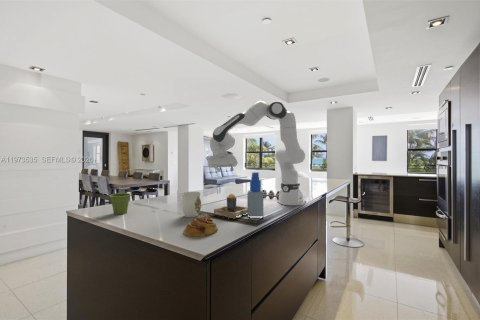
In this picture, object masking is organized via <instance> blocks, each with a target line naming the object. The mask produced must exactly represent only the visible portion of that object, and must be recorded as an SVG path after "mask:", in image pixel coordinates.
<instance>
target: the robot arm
mask: <svg viewBox="0 0 480 320" xmlns="http://www.w3.org/2000/svg"><path fill="white" fill-rule="evenodd" d="M264 117H267V118H268V119H271V120H278V123H279V131H280V132H279V133H280V136H279V137H280V141H281V142H283V144H284V147H283V148H279V149H278V150H276V152H275V154H274V155H275V159H276V161H277V163H278V164H279V165H278V166H279V168H280V174H281V183H280V190H279V191H278V195H279V197H278V200H277V203H278V204H281V205H284V206H303V205H304V204H305V203H306V202H307V199H304V194H303V192H302V191H301V189H300V186H301V183H298V182H299V181H298V171H297V170H296V168H295V165H297V164H302V163H303V162H304V161H305V159H306V153H305V151H304V149H302V148H301V146H300V143H299V141H298V140H299V139H298V134H297V133H298V132H297V122H296V117H295V113H293V112H291V111H288V109H286V106H285V105H284V104H283V103H282V102H281V101H278V100H275V101H272V102H271V103H270V104H268V103H266V102H265V101H264V100H263V101H262V100H259V101H256V102H255V103H253V104H252V105H251V106H250V107H249V108H247V110H245V111H243V112H238V113H236V114H235V115H233V117H231V118H230V119H227V121H226V122H224V123H223V124H221V125H219V126H218V127H216V128H215V129H214V130H213V132H212V137H211V138H210V140H209V147H210V150H211V152H212V155H208V156H206V157H205V158H206V161H207V166H208V167H209V168H210V169H211V168H213V169H214V170H215V171H217V173H220V172H221V168H230V172H234V170H235V169H234V167H237V165H238V159H237V158H236V156H235V155H234V152H232V151H230V149H232V148H233V147H234V145H235V143H236V139H235V138H234V136H233V135H232V134H230V133H229V131H231V130H232V129H233V128H235V127H236V126H238V125H245V126H246V127H247V126H248V127H253V126H255V125H256V124H258V122H259V121H261V120H262V119H263V118H264ZM228 150H229V151H228Z"/></svg>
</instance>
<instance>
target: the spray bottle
mask: <svg viewBox="0 0 480 320" xmlns="http://www.w3.org/2000/svg"><path fill="white" fill-rule="evenodd" d="M259 175H260V173H259V172H257V171H254V172H253V171H252V172H251V178H250V180H249V190H247V195H246V197H247V198H246V199H247V202H246V203H247V206H246V207H247V208H248V215H249V216H263V217H264V191H263V190H262V189H261V187H262V186H261V185H262V181H261V179H260V176H259ZM248 215H247V216H248Z"/></svg>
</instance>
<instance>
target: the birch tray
mask: <svg viewBox="0 0 480 320" xmlns="http://www.w3.org/2000/svg"><path fill="white" fill-rule="evenodd" d="M246 213H248V207H247V206H246V207H245V206H240V205H236V212H228V211H227V205H225V206H221V207H217V208H214V209H213V215H214V214H220V215H224V216H230V217H236V216H239V215H243V214H246Z"/></svg>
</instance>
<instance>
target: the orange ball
mask: <svg viewBox="0 0 480 320" xmlns="http://www.w3.org/2000/svg"><path fill="white" fill-rule="evenodd" d="M227 197H228V198H235V197H236V195H235V194H234V193H230V194H229V195H228V196H227Z"/></svg>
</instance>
